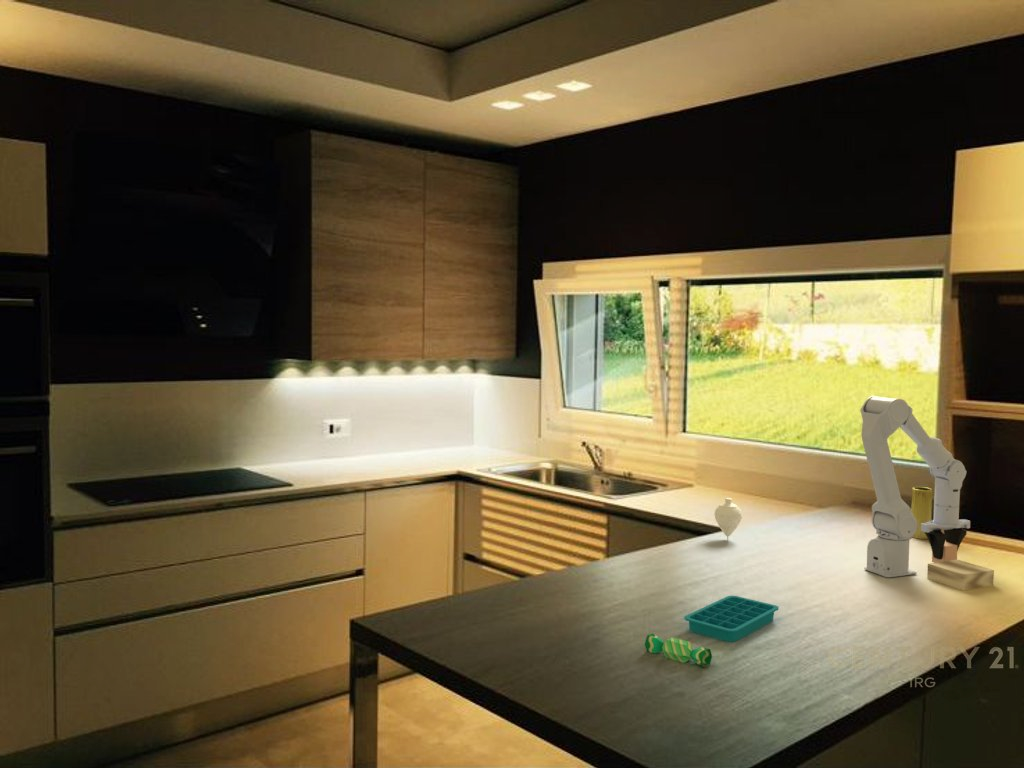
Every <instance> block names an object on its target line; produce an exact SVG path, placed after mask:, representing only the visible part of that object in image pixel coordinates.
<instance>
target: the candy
mask: <svg viewBox="0 0 1024 768" xmlns="http://www.w3.org/2000/svg"><path fill="white" fill-rule="evenodd" d="M644 647H645V649H646V652H648V653H651V654H657V653H660V652H663V655H664V657H665V658H666V659H669V660H674V661H676V662H680V663H687V662H688V661H690V660H691V659H692V660H693V662H695V663H696V664H697V665H698V666H701V667H702V668H705V666H704V664H705V665H711V662H712V658H713V655H712V651H711V649H710V648H708V647H701V646H700V647H697V648H695V649H694V648H693V646H692V643H691V642H690V641H687V640H684V639H680V638H676V637H670V638H669V639H666V640H665V641H663V639H662V638H660V637H659V636H658V635H656V634H655V633H649V634H647V635H646V638H645V642H644Z"/></svg>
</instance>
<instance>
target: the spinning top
mask: <svg viewBox="0 0 1024 768" xmlns="http://www.w3.org/2000/svg"><path fill="white" fill-rule="evenodd" d="M724 501H725V502H723V503H721V504H719V505H718V506H717V507H716V509H715V510H714V519H715V521H716V523H717V525H718V527H719V528H720V530H721V531H722V533H723V534H724V535H725V537H726V540H729V537H730V536H731V535H732V534H733V533H734V532H735V530H736V529H737V528H738V527H739V525H740V523H741V521H742V517H743V513H742V510H741V508H740V507H739V506H738V505H737V504H735V503H733V498H732V497H726V498H724Z"/></svg>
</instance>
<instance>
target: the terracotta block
mask: <svg viewBox="0 0 1024 768" xmlns="http://www.w3.org/2000/svg"><path fill="white" fill-rule="evenodd" d="M950 560H958V551H957V545H955V544H952V543H948V542H946V541H945V544H944V549H943V557H942V559H936V558H934V557H933V553H932V552H931V563H936V562H943V561H950Z"/></svg>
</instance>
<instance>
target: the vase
mask: <svg viewBox="0 0 1024 768" xmlns="http://www.w3.org/2000/svg"><path fill="white" fill-rule="evenodd" d="M932 490H933V489H932V488H930V487H925V486H913V487H912V493H911V506H910V509H911V513H912V515H913V516H914V517H915V518H916V520H917V530H916V533H915V534H914V535H913V536H912V539H913V538H914V539H919V540H928V538H927V536H926V534H925V532H923V531H921V523H926V522H929V521H932V520H933V519H932V517H933V516H932V515H933V514H932V510H933V509H932V508H933V505H932V504H933V501H932V500H933V496H932V495H933V491H932Z"/></svg>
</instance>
